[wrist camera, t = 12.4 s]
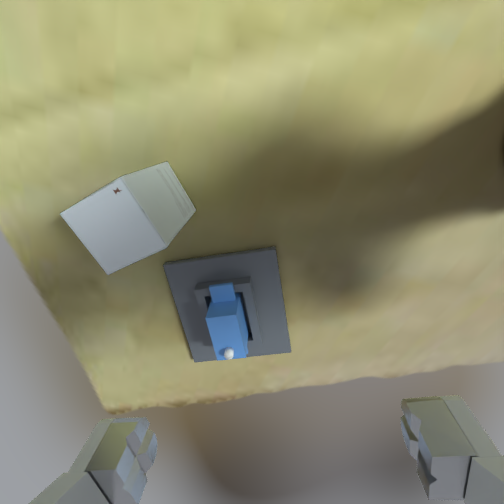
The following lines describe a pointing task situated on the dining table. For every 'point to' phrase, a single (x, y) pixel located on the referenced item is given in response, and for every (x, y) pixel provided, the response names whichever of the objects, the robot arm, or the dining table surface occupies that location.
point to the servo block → (227, 322)
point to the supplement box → (131, 216)
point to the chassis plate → (245, 281)
